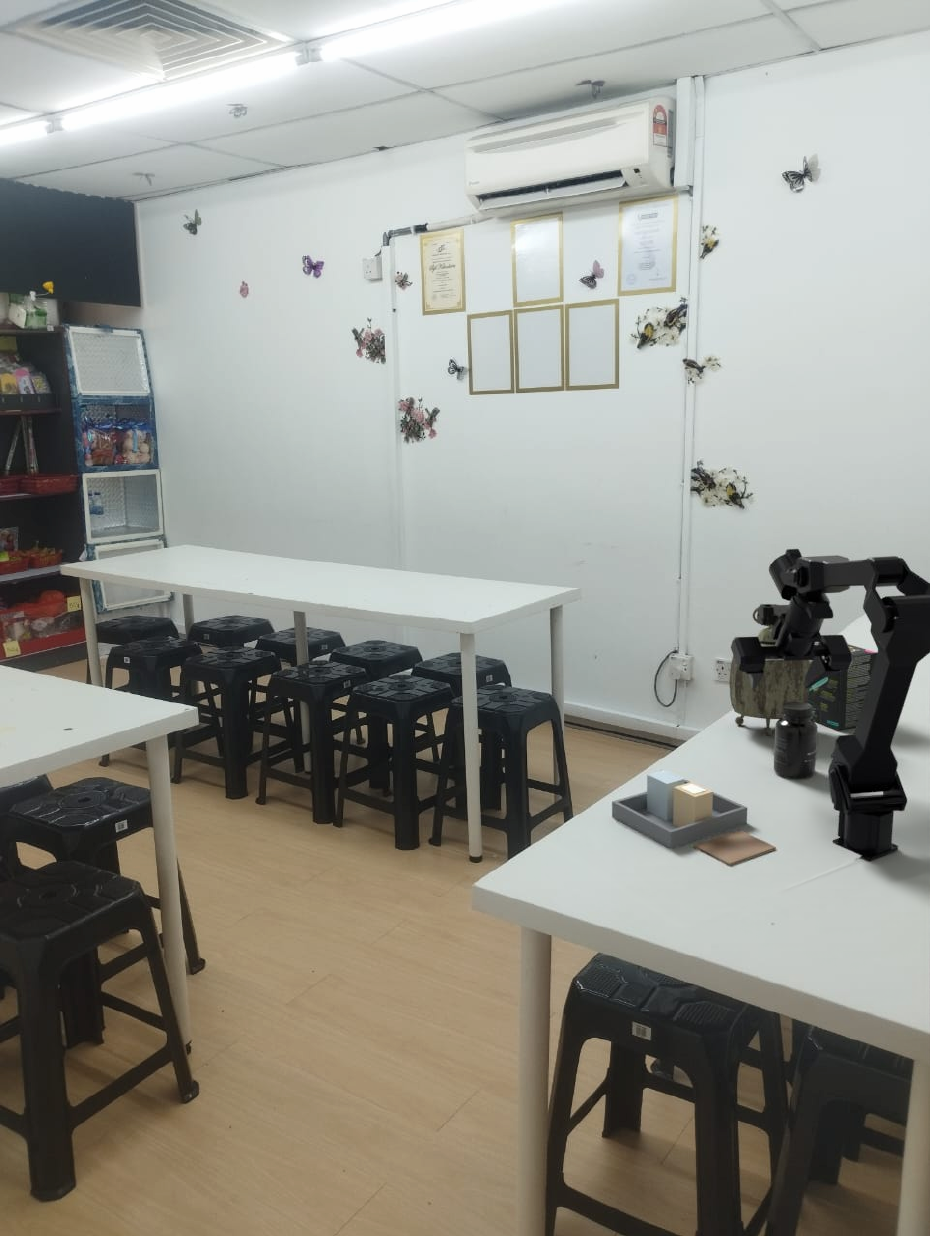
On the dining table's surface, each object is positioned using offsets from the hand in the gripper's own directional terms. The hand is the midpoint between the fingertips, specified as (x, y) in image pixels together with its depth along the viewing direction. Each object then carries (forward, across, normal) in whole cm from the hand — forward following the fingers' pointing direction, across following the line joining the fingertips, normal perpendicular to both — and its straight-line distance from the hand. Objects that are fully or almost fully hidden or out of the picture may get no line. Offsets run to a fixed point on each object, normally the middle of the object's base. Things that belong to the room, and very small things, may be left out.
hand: (779, 687), depth 165 cm
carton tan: (+1, +21, +27) cm, 34 cm away
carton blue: (+4, +24, +22) cm, 33 cm away
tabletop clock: (+22, -6, -8) cm, 24 cm away
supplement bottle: (+12, -3, +10) cm, 15 cm away
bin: (+3, +22, +24) cm, 33 cm away
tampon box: (+24, -21, -12) cm, 34 cm away
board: (-2, +17, +33) cm, 37 cm away
